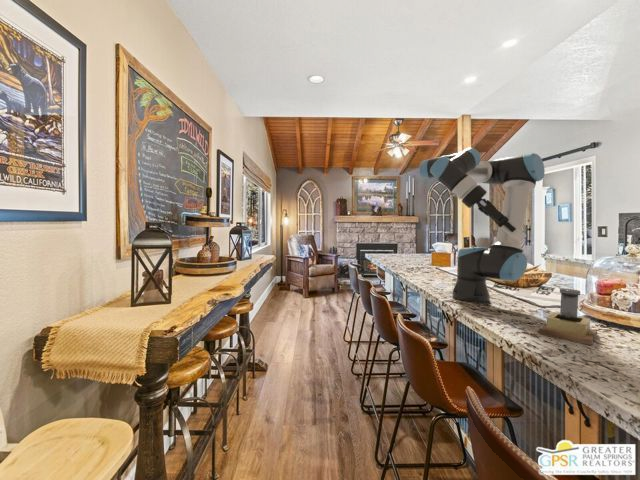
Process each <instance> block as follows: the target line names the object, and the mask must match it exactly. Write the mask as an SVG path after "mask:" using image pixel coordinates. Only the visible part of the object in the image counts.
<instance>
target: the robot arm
mask: <svg viewBox="0 0 640 480" xmlns="http://www.w3.org/2000/svg"><path fill="white" fill-rule="evenodd" d="M481 159H482V157H481V153H480V152H479V151H478V150H477V149H475V148H473V147H467V148H465V149H464V150H462V151H460V152H458V153H457V152H456V153H452V154H448V155H442V156H439V157H434V158H428V159H426V160H423V161H422V162H421V163H420V164H419V175H420V176H421V177H422V178H423V179H434V178H435V179H436V180H437V181H438V182H440V183H441V184H442V185H443V186H444V187H445V188H446V189H447V190H449V192H451V193H452V197H456V198H457V199H458V200H461V202H462V203H463V205H465V206H466V207H467V208H468V209H469V208H473V206H474V205H477V207H478V208H477V209H478V210H479V212H481V213H483V214H484V215H485V216H487V217H489V218H490V219H491V220H492V221H493V222H495V224H496V225H497V226H498V229H497V234H496V239H495V242H494V243H492V244H491V245H490V247H489V250H488V247H486V246H479V247H476V246H475V247H462V248H459V250H458V252H457V269H456V271H457V273H456V274H457V275H456V282H455V285H454V286H453V290H452V295H451V296H452V298H453V299H456V300H460V301H464V302H471V303H485V302H486V303H487V302H490V297H491V296H490V293H489V289H488V286H487V282H486V281H487V280H486V279H487V278H488V279H494V280H495V279H496V280H500V281H503V282H506V281H507V282H508V281H509V282H516V281H518V280H520V279H521V278H522V277H523V276H524V275H525V273H526V271H527V268H528V259H527V256H526V254H525V253H524V252H523V251H524V250H523V248H522V247H521V246H520V245H521V244H520V243H521V241H523V239H525V238H526V237H527V234H526V233H525V232H524V231H523V228H524V223H525V218H526V213H527V209H528V203H529V199H530V198H529V197H530V193H531V191H532V190H534V189H535V188H536V185H537V182H540V181H542V180H543V179H544V176H545V165H544V162H543V159H542V157H541V156H540V155H539V154H538V153H535V152H532V153H524V154H519V155H514V156H508V157H501V158H496V159H492V160H486V161H485V160H481ZM478 184H488V185H499V186H500V185H502V186H503V187H504V189H505V194H504V199H503V204H502V210H501V212H500V211H499V210H498V209H497V207H496V206H495V205H493V203H492V202H491V201H490V200H489V199H486V198H483V197H484V196H485V195H486V194H487V193H488V192H487V190H486V189H485V188H483V187H482V185H478Z"/></svg>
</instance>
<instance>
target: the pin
mask: <svg viewBox="0 0 640 480" xmlns="http://www.w3.org/2000/svg"><path fill="white" fill-rule="evenodd" d="M559 294H560V308H559V309H560V311H559V313H560V319H563V320H569V321H574V322H577V316H578V307H579V296H580V295H581V290H578V289H572V288H559Z"/></svg>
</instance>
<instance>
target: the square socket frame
mask: <svg viewBox="0 0 640 480" xmlns="http://www.w3.org/2000/svg"><path fill="white" fill-rule="evenodd" d="M546 323H547V324H546V329H548V330H553V331H558V332H563V333H567V334H572V335H577V336H582V337H585V336H586V335H587V333H588V332H589V330H590V329H591V318H590V317H589V318H588V317H582V316H578V315H577V322H574V321H569V320H563V319H560V312H553V311H552V313H551V314H549V315H548V316H547V317H546Z"/></svg>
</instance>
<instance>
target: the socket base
mask: <svg viewBox="0 0 640 480" xmlns="http://www.w3.org/2000/svg"><path fill="white" fill-rule="evenodd" d="M546 324H547V322H545V323H543V324H542V326H541V327H539V328H538V334H539V335H542V336H548V337H551V338H557V339H561V340H566V341H570V342H573V343H574V342H575V343H579V344H584V345H586V346H587V345H588V346H592V344H593V343H594V341H595V339H596V337H597V335H598V330H597V329H592V328H590V330H589V332H588V333H587V335H586V336H585V337H582V336H577V335H572V334H567V333H563V332H558V331H553V330H548V329H546Z"/></svg>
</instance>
